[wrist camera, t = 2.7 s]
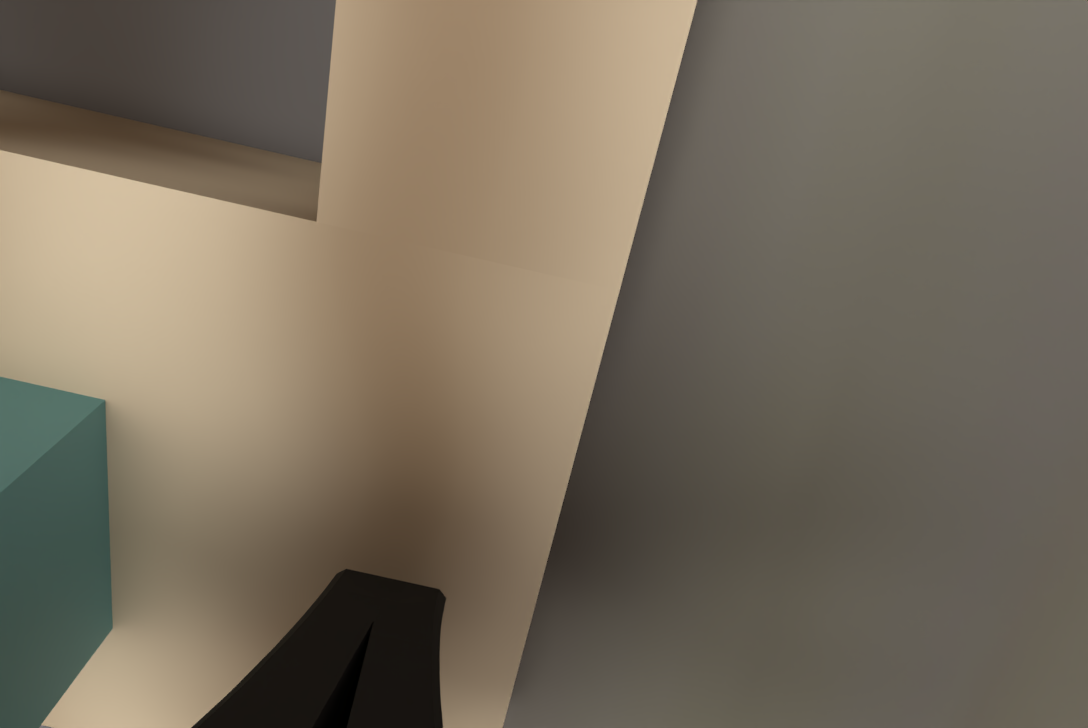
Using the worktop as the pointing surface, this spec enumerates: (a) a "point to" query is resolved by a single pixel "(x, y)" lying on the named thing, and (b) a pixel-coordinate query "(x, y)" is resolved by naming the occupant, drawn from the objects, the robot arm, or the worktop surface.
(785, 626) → the worktop surface
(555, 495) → the board
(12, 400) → the block
